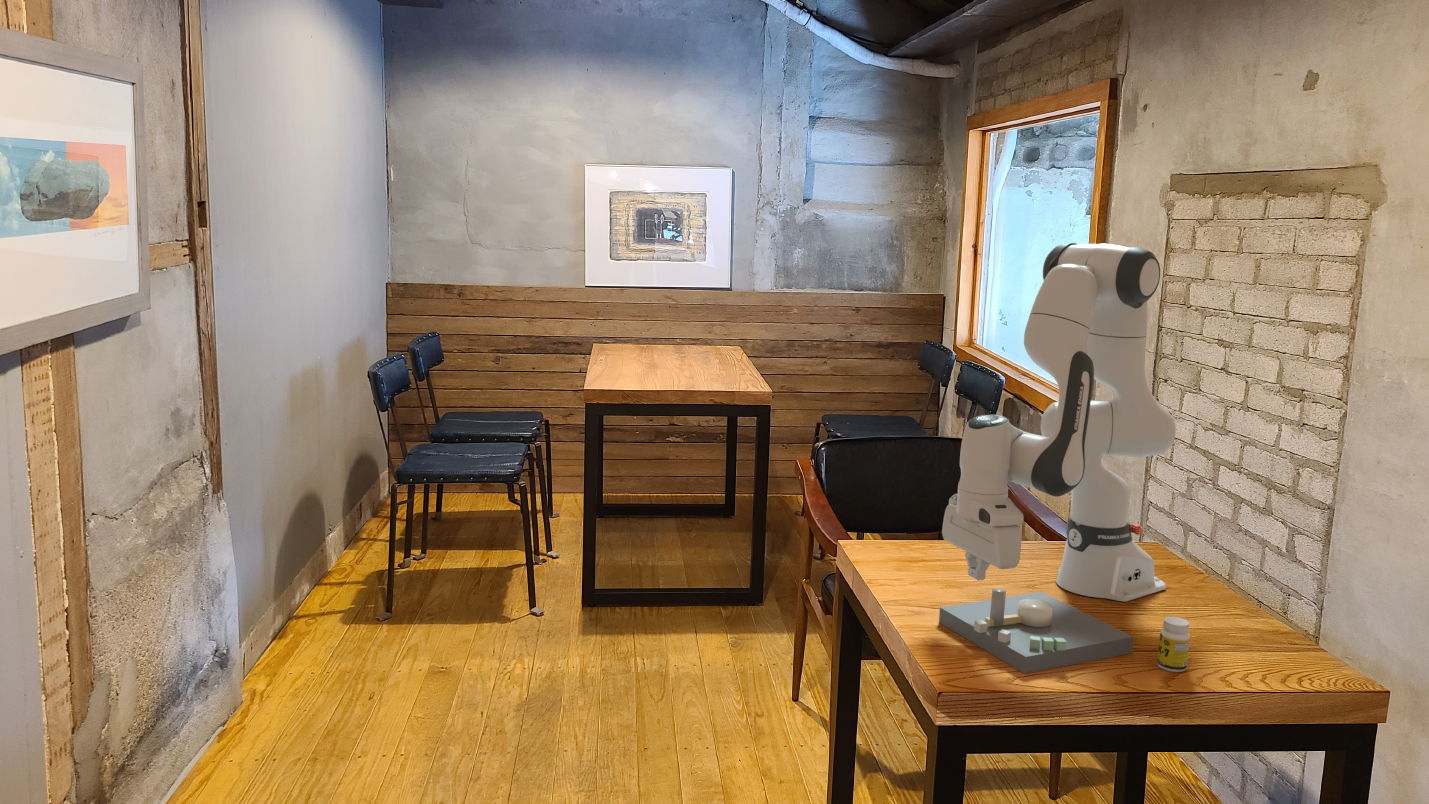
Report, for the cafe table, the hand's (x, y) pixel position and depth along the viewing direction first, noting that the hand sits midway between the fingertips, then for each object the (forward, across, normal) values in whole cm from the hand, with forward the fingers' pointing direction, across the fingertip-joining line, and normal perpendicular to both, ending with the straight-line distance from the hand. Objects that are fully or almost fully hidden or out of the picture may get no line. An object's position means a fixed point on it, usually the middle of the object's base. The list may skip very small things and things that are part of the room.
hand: (976, 577), depth 201 cm
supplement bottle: (+10, +24, +24) cm, 36 cm away
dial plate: (+10, +6, +8) cm, 15 cm away
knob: (+7, +6, +5) cm, 11 cm away
